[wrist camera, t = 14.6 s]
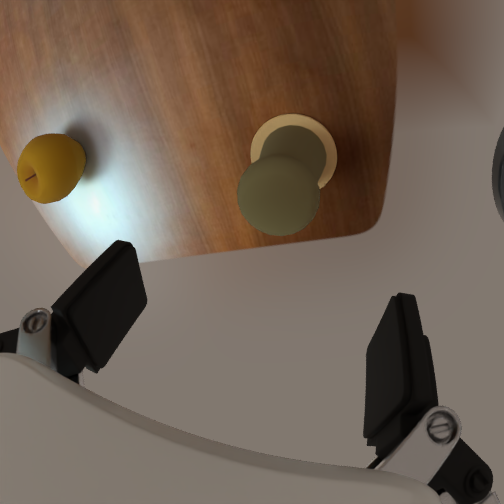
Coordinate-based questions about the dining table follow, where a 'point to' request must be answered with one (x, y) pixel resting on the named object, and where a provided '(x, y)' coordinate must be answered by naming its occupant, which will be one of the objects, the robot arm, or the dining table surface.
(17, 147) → the dining table surface
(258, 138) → the cork mat
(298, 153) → the pepper shaker
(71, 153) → the apple
